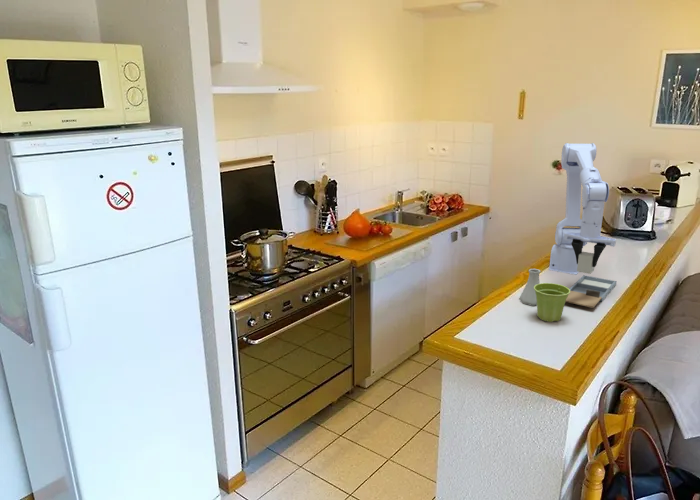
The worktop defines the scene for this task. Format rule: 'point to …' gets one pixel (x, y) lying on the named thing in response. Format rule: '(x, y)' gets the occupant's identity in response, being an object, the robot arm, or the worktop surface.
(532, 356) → the worktop surface
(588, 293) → the door
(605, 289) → the tray
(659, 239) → the worktop surface
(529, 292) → the flask
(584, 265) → the block
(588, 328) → the worktop surface
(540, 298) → the plant pot
